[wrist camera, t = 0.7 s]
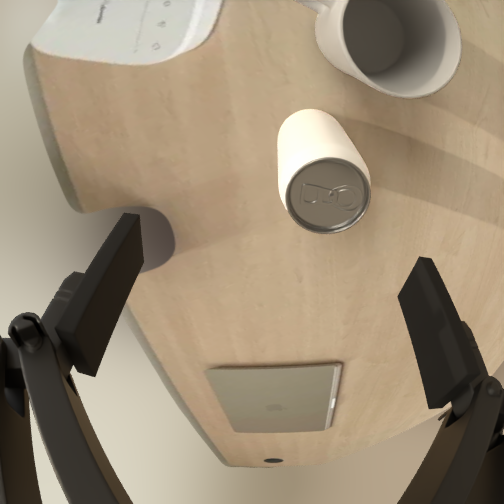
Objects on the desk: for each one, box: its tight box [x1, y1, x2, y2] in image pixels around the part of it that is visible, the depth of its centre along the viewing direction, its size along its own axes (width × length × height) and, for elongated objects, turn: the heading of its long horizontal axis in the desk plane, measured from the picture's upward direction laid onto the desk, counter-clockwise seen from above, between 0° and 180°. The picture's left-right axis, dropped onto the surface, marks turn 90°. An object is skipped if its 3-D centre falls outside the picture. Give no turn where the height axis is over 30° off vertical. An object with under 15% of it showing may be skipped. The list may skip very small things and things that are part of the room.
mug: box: [294, 0, 462, 99], centre depth 18 cm, size 12×8×11 cm
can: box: [278, 109, 371, 234], centre depth 25 cm, size 6×6×12 cm
